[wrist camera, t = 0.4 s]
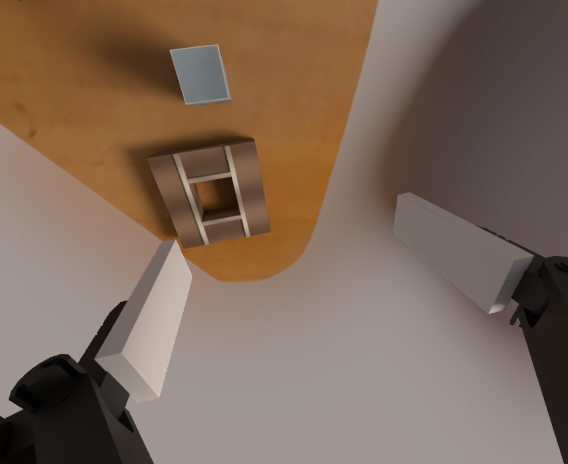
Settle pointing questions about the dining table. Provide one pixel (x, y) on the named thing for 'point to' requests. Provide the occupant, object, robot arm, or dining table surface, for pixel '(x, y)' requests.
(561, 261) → the robot arm
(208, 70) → the peg
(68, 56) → the dining table surface
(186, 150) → the socket block
